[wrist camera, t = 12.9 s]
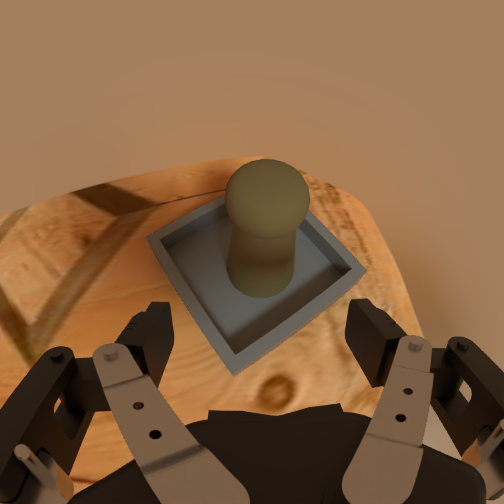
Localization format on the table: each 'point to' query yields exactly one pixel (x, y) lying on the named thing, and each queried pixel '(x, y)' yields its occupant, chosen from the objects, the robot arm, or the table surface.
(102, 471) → the table surface
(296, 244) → the tray
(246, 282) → the cork
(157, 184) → the table surface
